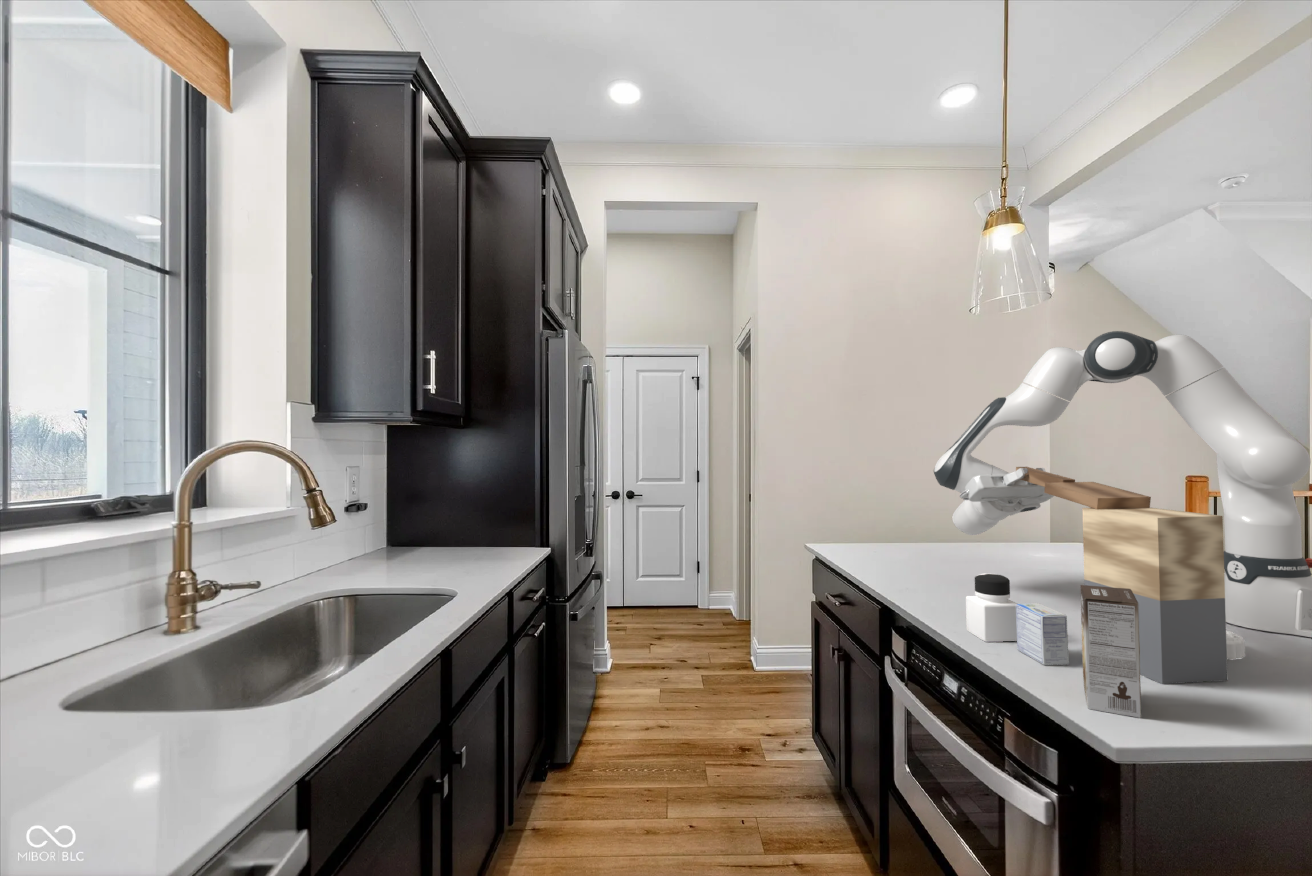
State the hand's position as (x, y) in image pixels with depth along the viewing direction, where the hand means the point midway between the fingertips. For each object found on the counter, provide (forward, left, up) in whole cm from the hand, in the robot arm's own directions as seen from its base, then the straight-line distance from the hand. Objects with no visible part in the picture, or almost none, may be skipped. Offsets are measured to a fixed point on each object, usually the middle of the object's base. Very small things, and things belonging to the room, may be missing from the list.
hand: (1033, 470), depth 128 cm
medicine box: (+15, +22, -32) cm, 42 cm away
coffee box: (+18, +40, -32) cm, 54 cm away
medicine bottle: (+16, +10, -32) cm, 37 cm away
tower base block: (0, +27, -32) cm, 42 cm away
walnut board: (0, +9, -4) cm, 10 cm away
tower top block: (0, +27, -19) cm, 33 cm away
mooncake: (-16, +21, -32) cm, 41 cm away
